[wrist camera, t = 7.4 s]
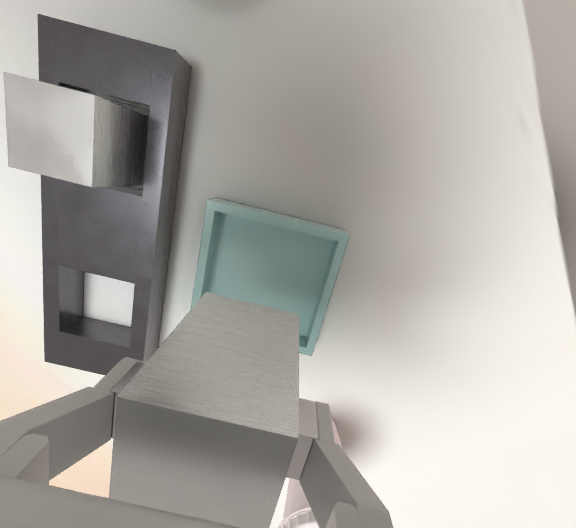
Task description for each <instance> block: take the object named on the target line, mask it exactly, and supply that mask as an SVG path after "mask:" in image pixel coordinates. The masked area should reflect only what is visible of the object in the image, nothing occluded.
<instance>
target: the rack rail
mask: <svg viewBox="0 0 576 528" xmlns="http://www.w3.org/2000/svg"><path fill="white" fill-rule="evenodd" d="M38 51H39V81H41V82H45V83H49V84H53V85H57V86H61V87H65V88H68V89H72V90H76V91H80V92H84V93H88V94H92V95H95V96H99V97H103V98H107V99H111V100H114V101H118V102H122V103H126V104H130V105H134V106H138V107H142V108H146V109H149V110H150V112H149V123H148V135H147V147H146V159H145V170H144V182H143V190H139V189H135V188H131V187H127V186H108V187H89V186H85V185H81V184H77V183H73V182H69V181H65V180H61V179H57V178H53V177H49V176H45V175H41V201H42V252H43V302H44V352H45V362H49V363H54V364H58V365H62V366H67V367H71V368H76V369H80V370H84V371H89V372H93V373H97V374H102V375H106V374H107V373H108V372H109V371H110V370H112V369H113V368H114V367H115V366H116V365H117V364H118V363H119V362H120V361H121V360H122V359H123V358H125V357H129V358H133V359H136V360H141V361H145V362H147V361H148V360H149V358H150V357H151V356H152V355H153V354H154V353H155V351H156V350H157V349H158V342H159V334H160V326H161V317H162V309H163V301H164V292H165V284H166V276H167V267H168V259H169V251H170V242H171V234H172V226H173V217H174V209H175V201H176V192H177V184H178V176H179V167H180V159H181V151H182V142H183V134H184V126H185V117H186V109H187V101H188V92H189V84H190V76H191V66H190V65H189V64H188V63H187V62H186V61H185V60H184V58H183V57H182V56H181V55H180V54H179V53H178V52H177V51H176V50H172V49H169V48H165V47H161V46H157V45H154V44H150V43H146V42H142V41H138V40H135V39H131V38H127V37H123V36H120V35H116V34H112V33H108V32H104V31H101V30H97V29H93V28H89V27H86V26H82V25H78V24H74V23H70V22H67V21H63V20H59V19H55V18H51V17H48V16H44V15H40V14H38ZM84 272H88V273H93V274H97V275H101V276H105V277H109V278H114V279H118V280H122V281H126V282H130V283H135V288H134V300H133V312H132V324H131V328H130V327H126V326H121V325H117V324H113V323H108V322H104V321H100V320H96V319H91V318H87V317H83V287H84Z"/></svg>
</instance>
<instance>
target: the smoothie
mask: <svg viewBox="0 0 576 528" xmlns="http://www.w3.org/2000/svg"><path fill="white" fill-rule="evenodd" d="M332 426H333V433H334V440H335V444H339V445H340V446H341V448H342V445H341V441H340V438H339V434H338V431H337V428H336V424H335V422H334V420H333V419H332ZM342 449H343V448H342ZM299 481H300V480H296V479H292V478H289V485H288V491H287V498H286V503H285V510H284V517H283V521H282V522H281V524H280V525H279V527H278V528H319V526H318V523H317V521H316V519H315V517H314V514H313V512H312V510H311V507H310V505H309V503H308V501H307V498H306V496H305V494H304V491H303V489H302V487H301V485H300V482H299Z"/></svg>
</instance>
